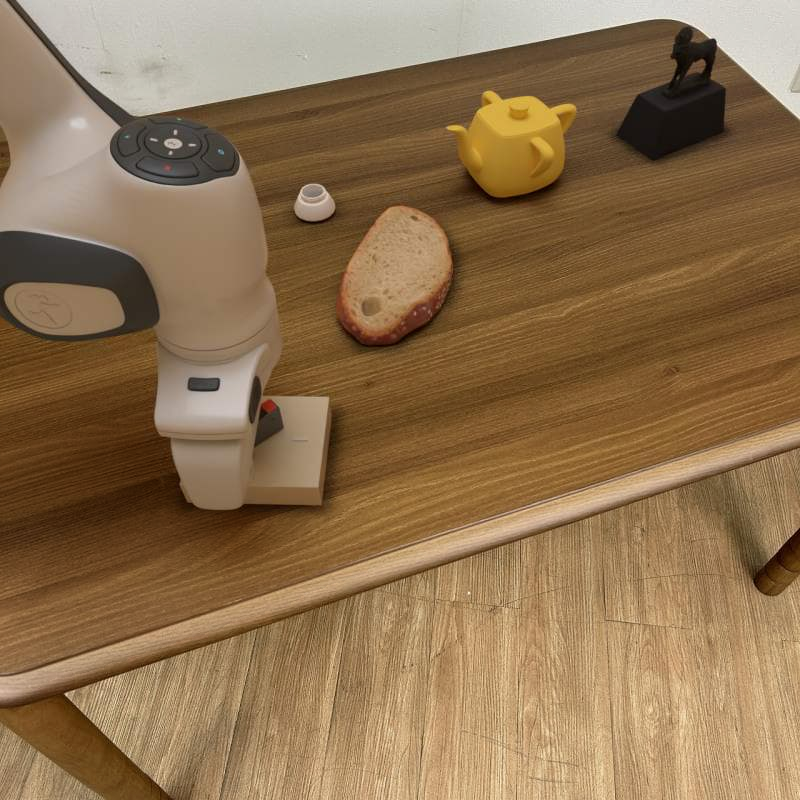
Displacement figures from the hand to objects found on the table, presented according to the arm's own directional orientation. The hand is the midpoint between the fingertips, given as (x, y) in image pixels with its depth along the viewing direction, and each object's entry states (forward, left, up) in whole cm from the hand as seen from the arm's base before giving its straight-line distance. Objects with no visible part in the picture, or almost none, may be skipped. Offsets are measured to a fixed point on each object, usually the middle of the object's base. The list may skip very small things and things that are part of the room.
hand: (248, 442), depth 66 cm
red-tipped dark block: (+1, +1, 0) cm, 1 cm away
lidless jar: (+2, +38, -4) cm, 38 cm away
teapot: (+26, +45, -4) cm, 52 cm away
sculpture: (+49, +56, -4) cm, 74 cm away
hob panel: (+1, +1, -3) cm, 4 cm away
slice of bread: (+12, +26, -4) cm, 28 cm away
